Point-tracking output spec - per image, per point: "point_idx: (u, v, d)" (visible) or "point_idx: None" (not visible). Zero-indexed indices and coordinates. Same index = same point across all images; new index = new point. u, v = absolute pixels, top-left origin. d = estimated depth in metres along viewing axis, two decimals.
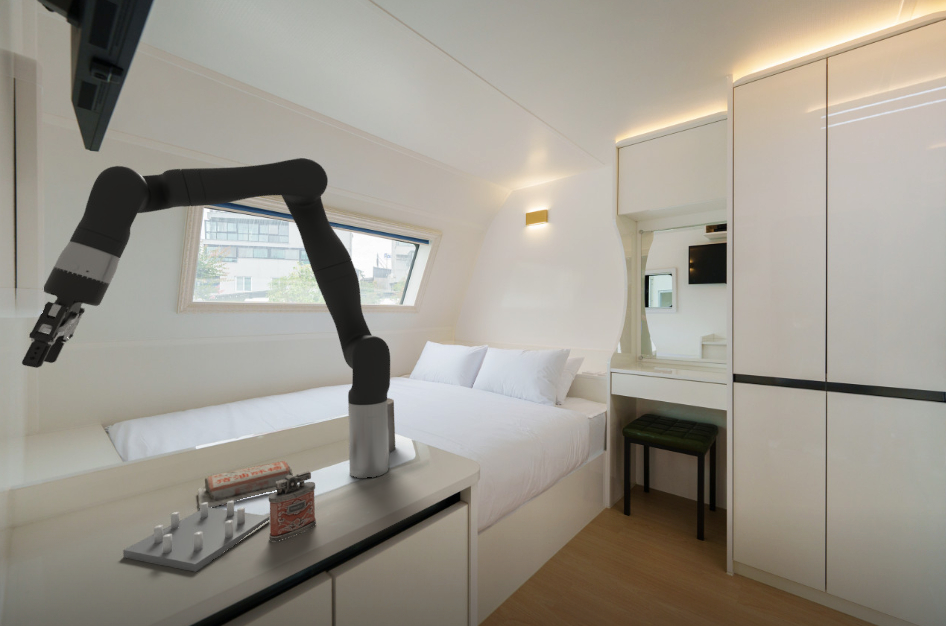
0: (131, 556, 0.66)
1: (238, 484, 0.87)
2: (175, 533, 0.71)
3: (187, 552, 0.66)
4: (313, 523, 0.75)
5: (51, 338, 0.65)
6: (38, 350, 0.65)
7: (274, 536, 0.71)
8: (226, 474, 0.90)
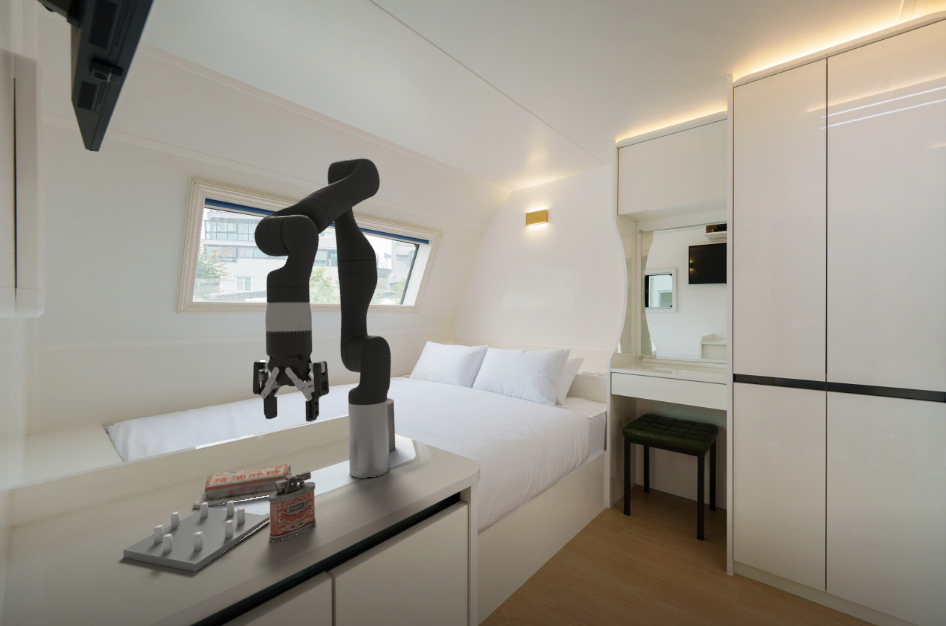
0: (131, 556, 0.66)
1: (233, 486, 0.86)
2: (175, 533, 0.71)
3: (187, 552, 0.66)
4: (313, 523, 0.75)
5: None
6: (316, 405, 0.72)
7: (274, 536, 0.71)
8: (227, 473, 0.90)
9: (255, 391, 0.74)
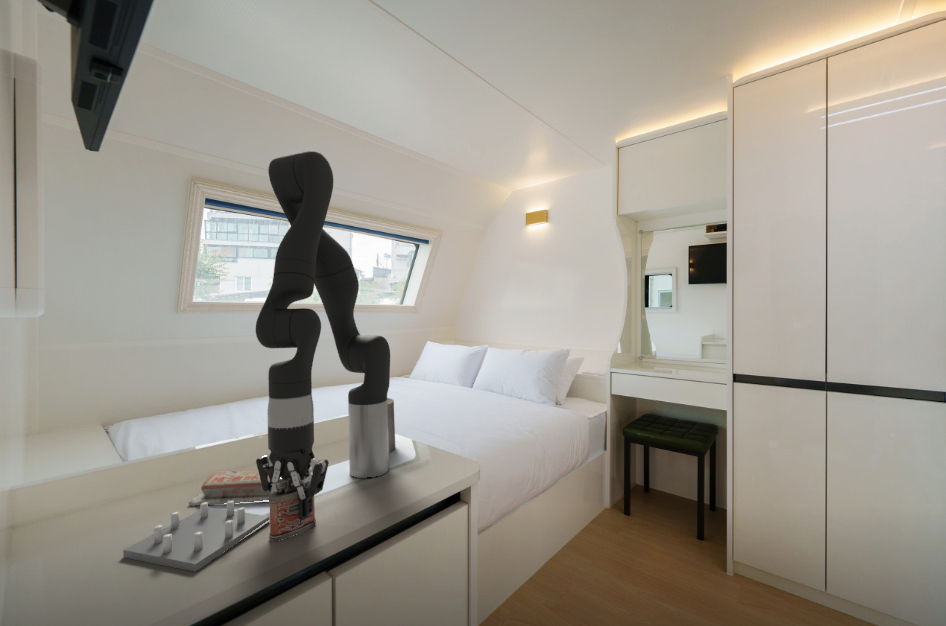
0: (131, 556, 0.66)
1: (226, 487, 0.86)
2: (175, 533, 0.71)
3: (187, 552, 0.66)
4: (313, 523, 0.75)
5: (322, 488, 0.73)
6: (310, 502, 0.73)
7: (274, 536, 0.71)
8: (228, 473, 0.90)
9: (265, 488, 0.74)
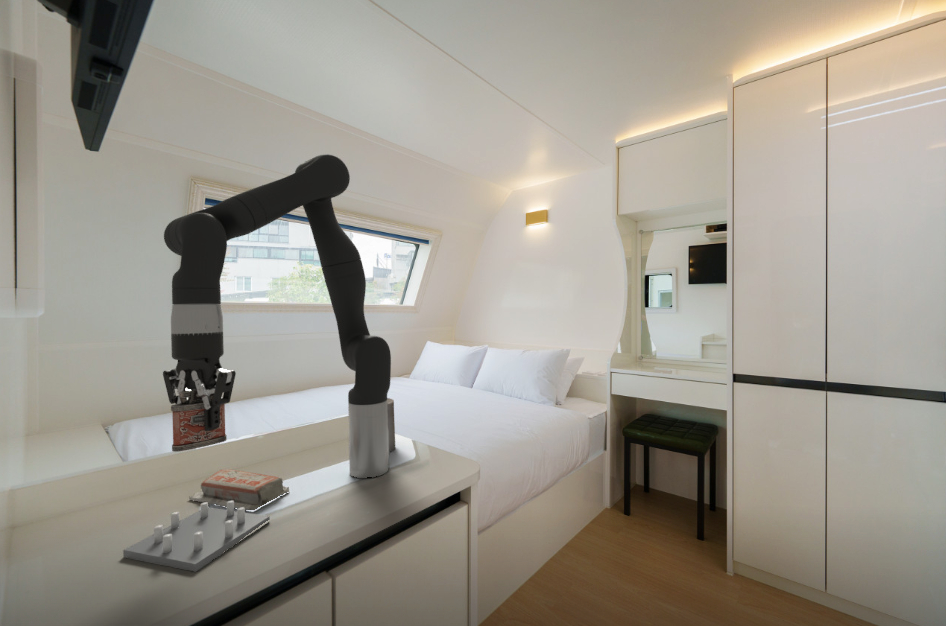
0: (131, 556, 0.66)
1: (218, 487, 0.86)
2: (175, 533, 0.71)
3: (187, 552, 0.66)
4: (222, 438, 0.73)
5: None
6: (216, 414, 0.71)
7: (176, 446, 0.69)
8: (230, 472, 0.91)
9: (171, 400, 0.72)
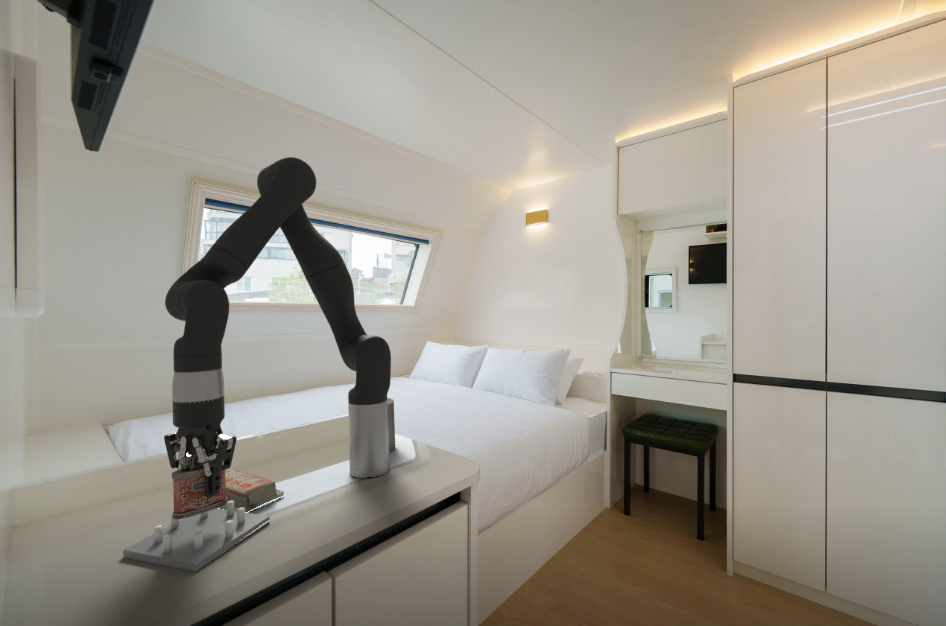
0: (131, 556, 0.66)
1: None
2: (175, 533, 0.71)
3: (187, 552, 0.66)
4: (223, 502, 0.73)
5: (230, 465, 0.72)
6: (217, 479, 0.71)
7: (176, 514, 0.69)
8: (231, 472, 0.91)
9: (172, 465, 0.72)
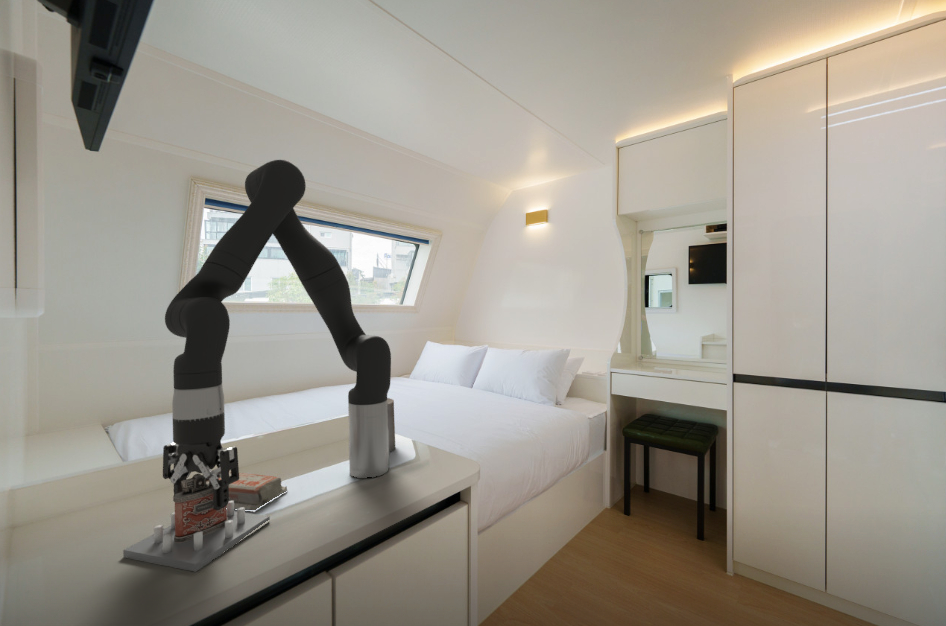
0: (131, 556, 0.66)
1: None
2: None
3: (187, 552, 0.66)
4: (224, 522, 0.73)
5: None
6: (225, 492, 0.71)
7: (179, 537, 0.69)
8: None
9: (165, 476, 0.72)
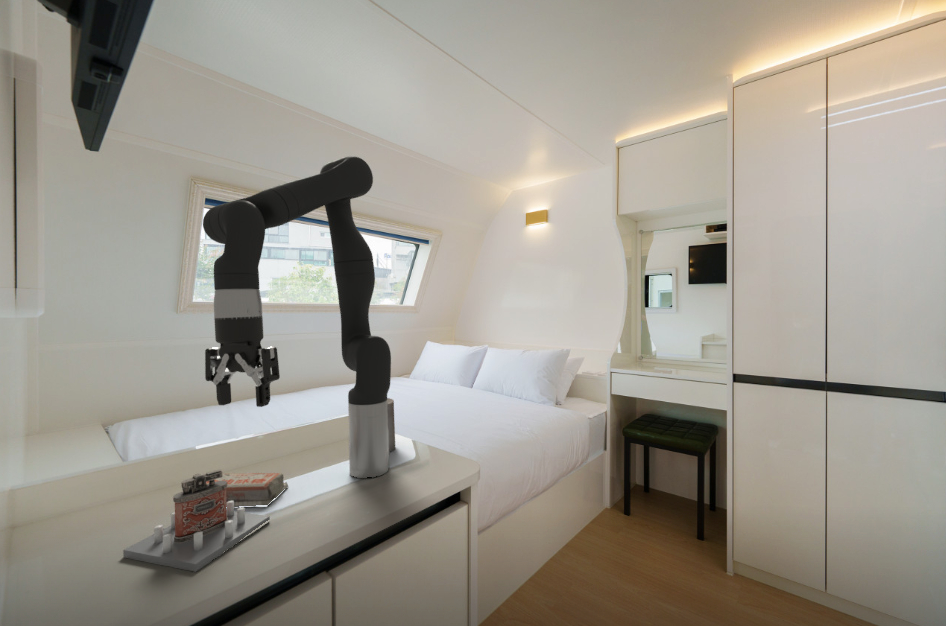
0: (131, 556, 0.66)
1: None
2: None
3: (187, 552, 0.66)
4: (224, 522, 0.73)
5: (279, 375, 0.73)
6: (267, 390, 0.73)
7: (179, 537, 0.69)
8: None
9: (207, 378, 0.75)
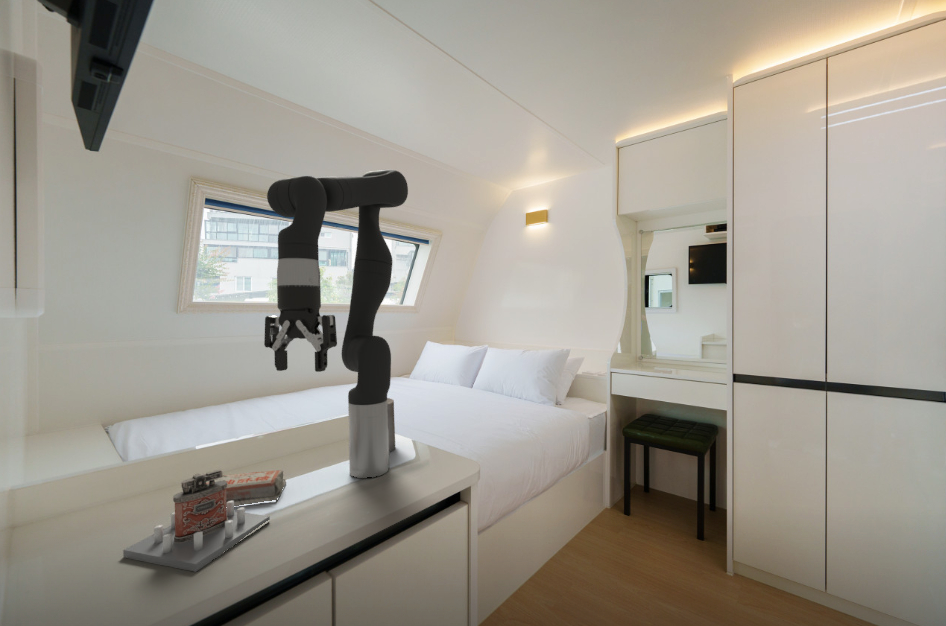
0: (131, 556, 0.66)
1: None
2: None
3: (187, 552, 0.66)
4: (224, 522, 0.73)
5: (336, 342, 0.77)
6: (325, 356, 0.76)
7: (179, 537, 0.69)
8: None
9: (266, 344, 0.78)
